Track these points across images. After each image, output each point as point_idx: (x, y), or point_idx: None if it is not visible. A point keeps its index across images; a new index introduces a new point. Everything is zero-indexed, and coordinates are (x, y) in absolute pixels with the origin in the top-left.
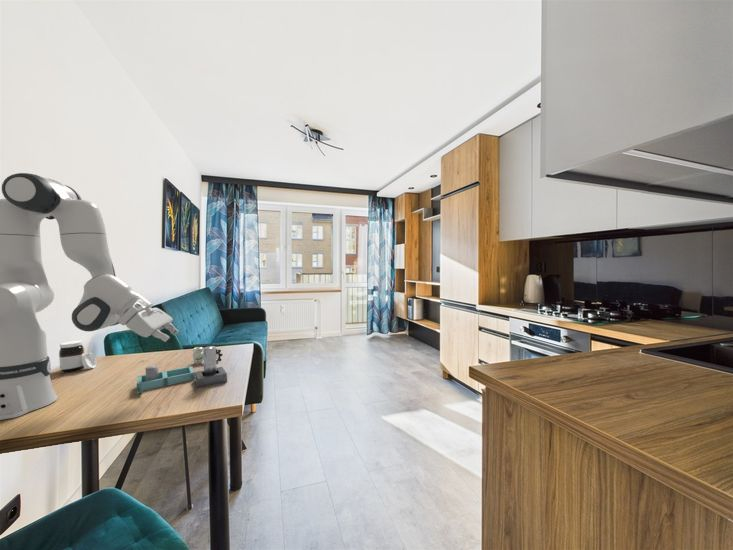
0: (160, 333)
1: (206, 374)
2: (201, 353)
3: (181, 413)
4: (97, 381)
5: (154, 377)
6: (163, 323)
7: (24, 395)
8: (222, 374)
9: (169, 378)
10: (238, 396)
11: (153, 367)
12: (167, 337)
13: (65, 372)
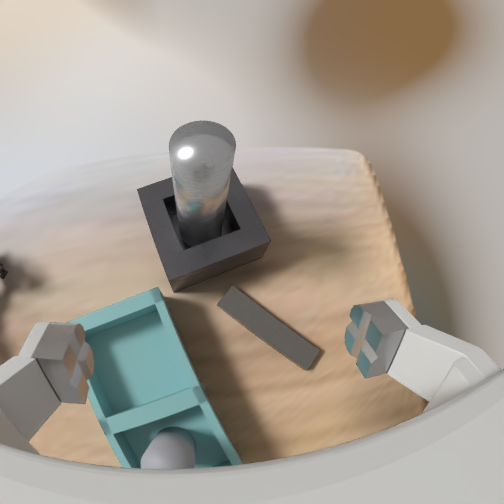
0: (457, 345)
1: (221, 222)
2: None
3: (397, 256)
4: None
5: (187, 440)
6: (287, 473)
7: None
8: (233, 171)
9: (196, 378)
10: (319, 150)
11: (172, 459)
12: (399, 303)
13: None
